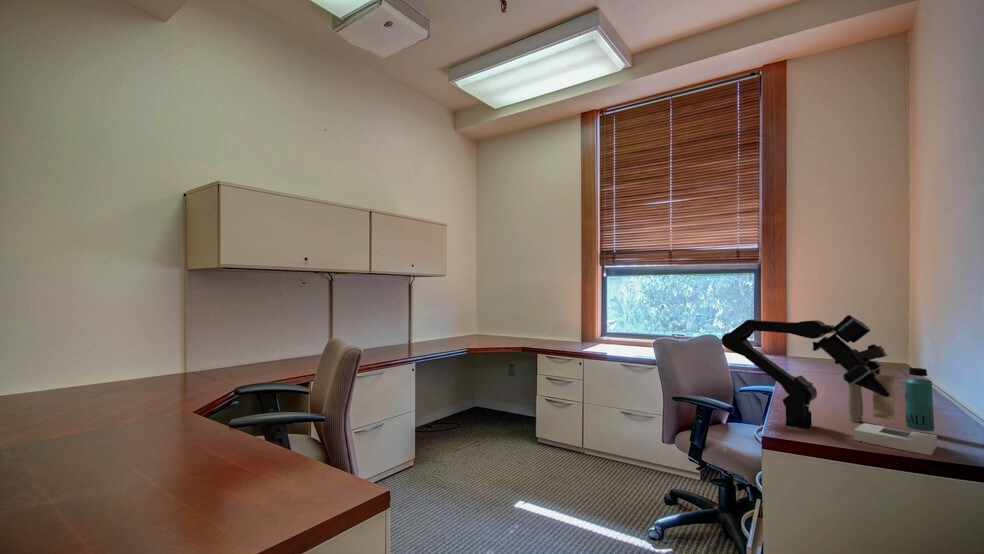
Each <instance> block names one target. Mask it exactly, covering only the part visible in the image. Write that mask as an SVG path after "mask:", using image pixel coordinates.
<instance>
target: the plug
mask: <svg viewBox="0 0 984 554" xmlns="http://www.w3.org/2000/svg"><path fill="white" fill-rule="evenodd" d="M875 378H876V379H877V380H878V381H879V383H880V384H881V385H882V386H883V387H884V388H885V389H886V391H887V392H888V393H889V394H890V395H889V396H888V397H885V396H883V395H880V394H878V393H876V392H874V391H872V410H873V411H872V412H873V413H872V414H873V417H874V418H877V419H878V418H881V419H886V420H894V419H895V416H896V415H895V390H894V387H895V383H894V379H895V378H894V375H890V374H881V373H880V374H875Z"/></svg>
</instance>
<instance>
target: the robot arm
mask: <svg viewBox="0 0 984 554" xmlns="http://www.w3.org/2000/svg"><path fill="white" fill-rule="evenodd" d="M754 332H770V333H781V334H791V335H795V336H798V337H801V338H806V339H811V340H813V339H820V338H821V339H820V340H818V341H812V351H813V352H815V351H816V352H817V351H819V350H820V349H821V350H823V351H824V352H825V353H826V354H827V355H828V356H829V357H831V358H832V360H834V363H835V364H836V365H840V366H841V367H842V368H843V369H844V370H845V371H846V372H845V373H844V374H843V375H844V379H845V380H846V381H847V382H846V381H845V380H844V381H845V382H846V383H847V384H848V383H849V384H851V383H853V381H855V380H856V379H857V380H859V381H857V382H856V383H854V384H856V385H859V386H861V388H864V389H867V390H869V391H872V392H873V391H874V392H876V393H878V394H880V395H883V396H885V397H888V396H889V395H890V394H889V393H888V392H887V391H886V389H885V388H884V387H883V386H882V385H881V384H880V383H879V381H878V380H877V379H876V378H875V374H881V370H882V369H881V367H882V364H881V363H880V362H879V361H878V360H875V359H881V358H885V357H887V356H888V355H887V353H886V352H885V349H884V348H883V347H882V345H879V346H878V345H876V344H871V345H868V346H867V349H864V350H861V351H859V350H857V349H855V348H852V347H851V346H849V345H848V344H847V343H850V342H851V343H852V344H853V343H854V344H855V343H856V342H858V341H859V340H861V339H862V338H863V337H864V336H866V335H867V334H868V333H870V332H871V329H870V328H869V327H868V326H867V325H866V324H865V323H864V322H862V321H860V320H858V319H857V318H855V317H854V316H852V315H851V314H848V315H846V316H845V317H844V318H843V319H842V320H841V321H839V323H837V324H836V325H829V324H826V323H825V322H823V321H821V320H819V319H818V320H817V319H816V320H815V319H813V320H804V321H793V322H792V321H791V322H790V321H776V320H775V321H774V320H760V319H759V320H758V319H755V318H754V319H753V318H752V319H746V320H745V321H744V322H743V323H742V324H740V325H739V326H737V327H736V328H735V329H733V330H731V332H726V333H725V334H723V335H722V337H721V344H722V346H723V347H724V348H725V349H727V350H729V351H731V352H733V353H734V354H738V355H740V356H742V357H745V358H746V359H747V360H748V361H750V362H751V363H752V364H753V365H755V366H756V367H758V368H759V369H760V370H761V371H763V372H764V373H765V374H766V375H768V376H769V377H771V378H772V379H773V380H775V381H776V382H777V383H779V385H781V387H782V388H783V390H784V391H785V392H786V393H787V396H786V397H784V398H783V399H782V402H783V405H784V407H785V423H784V424H785V425H786V426H790V427H798V428H805V429H810V428H811V426H812V425H813V424H812V411H811V410H810V403H811V402H813V401H814V400H816V399H817V397H818V391H817V388H816V387H815V386H814V383H813V382H810V381H808V379H806V378H805V376H802V375H799V376H794V375H791V374H790V373H788V371H785V370H784V368H782V367H780V366H779V365H778V364H777V363H775V362H773V360H771V359H770V358H768V357H767V356H765V355H764V354H762V353H761V352H760V351H759V350H757V349H756V348H754V347H753V345H752V344H751V342H750V340H748V339H749V338H750V337H751V336H752V335H753V334H754ZM826 334H827V335H828V334H832V335H830V336H829V337H827V336H825V335H826Z"/></svg>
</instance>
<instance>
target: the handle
mask: <svg viewBox="0 0 984 554" xmlns="http://www.w3.org/2000/svg"><path fill="white" fill-rule="evenodd" d="M842 380H843V381H845V382H846V383H847V385H848V389H847V390H848V393H847V395H848V396H847V409H848V415H849V421H852V422H855V423H863V416H864V415H863V414H864V402H863V393H862V386H859V385H856V384H854V383H856V382H857V381H859V380H857V379H856V380H855V381H853V383H851V384H849V383H848V382H847V381H846V380H845V379H844V374H843V375H842Z"/></svg>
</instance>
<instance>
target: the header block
mask: <svg viewBox="0 0 984 554" xmlns="http://www.w3.org/2000/svg"><path fill="white" fill-rule="evenodd" d="M853 440H854V441H855V440H857V441H856V442H860V441H862V442H861V443H865V442H866V443H865V444H871V445H876V446H881V447H886V448H891V449H892V448H893V449H895V450H896V449H897V450H902V451H905V452H912V453H917V454H921V455H927V456H932V455H933V453H934V452H935V450H936V449H937V447H938V436H937V435H936V434H930V433H926V432H925V433H924V432H918V431H912V430H907V429H900V428H894V427H889V426H883V425H877V424H872V423H865V422H862V424H860V425H859V426H857V427H855V429H853Z"/></svg>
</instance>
